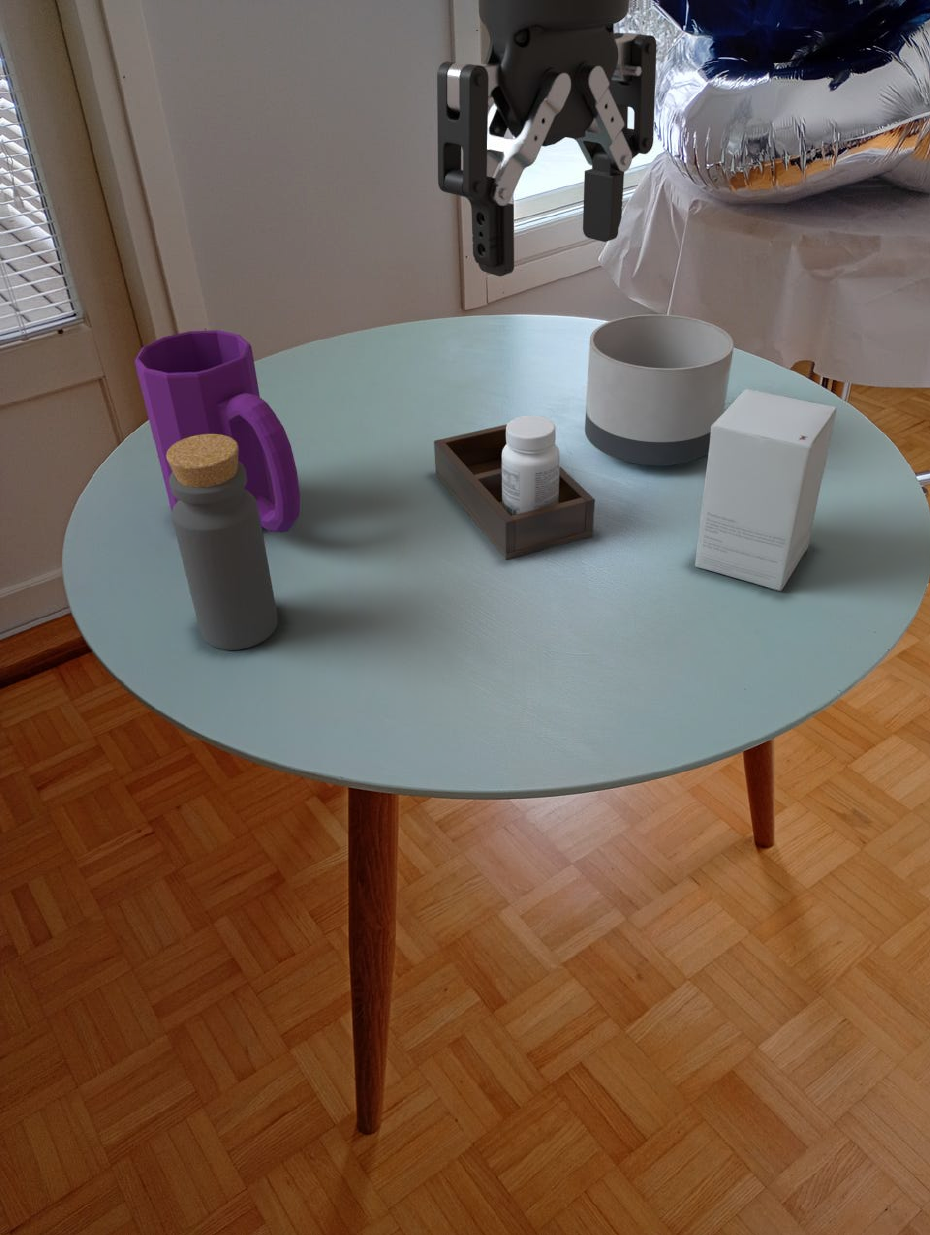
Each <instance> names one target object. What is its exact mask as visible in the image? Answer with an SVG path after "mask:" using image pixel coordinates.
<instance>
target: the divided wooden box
mask: <svg viewBox="0 0 930 1235" xmlns="http://www.w3.org/2000/svg"><path fill="white" fill-rule="evenodd" d="M506 426H507V424H502V425H498V426H493V427H489V428H484V429H480V430H475V431H473V432H467V433H462V434H458V435H453V436H449V437H445V438H440V439H435V440H433V451H434V452H433V453H434V466H435V467H434V469H435V476H436V478H437V479H438V480H439V481H440V483H442V485H443V486H444V487H445V488H446V490H447V491H448V492H449V493H450V494H451V495H452V496H453V498H454V499H455V500H456V502H458V504H459V505H460V507H461V508H462V509H463V510H464V511H465V512H466V513H467V515H468V516H469V517H470V518H471V519H472V521H473V522H474V523H475V524H476V525H477V527H478V528H479V529H480V530H481V532H482V533H483V534H484V535H485V536H486V537H487V539H488V540H489V541H490V543H491V544H492V545H493V546H494V547H495V548H496V549H497V550H498V552H499V553H500V555H502V557H503V558H504V559H505V560H510V559H513V558H517V557H520V556H524V555H528V554H531V553H535V552H538V551H542V550H547V549H550V548H553V547H557V546H560V545H564V544H569V543H572V542H575V541H578V540H582V539H586V538H591V537H593V536H594V535H593V534H594V518H595V502H596V500H595V498H594V497H593V496H592V495H591V494H590V493H589V492H588V491H587V490H585V488H583V487H582V486H581V484H579V483H578V482H577V481H576V480H575V479H574V477H572V476H571V475H570V474H569V473H568V472H566V471H565V470H564V469H563V467H561V466H560V465H559V499H558V504H555V505H551V506H547V507H543V508H539V509H535V510H531V511H527V512H524V513H520V514H516V515H512V516H510V515H509V513H508V512H507V511H506V510H505V509H504V508H503V507H502V451H503V448H504V447H505V445H506V444H507V443H506Z"/></svg>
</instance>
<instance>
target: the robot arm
mask: <svg viewBox="0 0 930 1235" xmlns="http://www.w3.org/2000/svg"><path fill="white" fill-rule="evenodd" d="M629 9H630V0H478V16H479V20H480V22H482V23H483V25H484V26H485V28H486V30H487V33H488V37H489V45H488V50H487V55H486V58H485V61H484V63H479V64H471V63H463V62H455V61H447V60H446V61H443V62H442V63H440V65H439V67H438V69H437V73H436V103H437V104H436V107H437V108H436V109H437V110H436V111H437V114H436V115H437V116H436V117H437V118H436V119H437V120H436V121H437V124H436V125H437V184H438V188H439V190H440V191H441V192H443V193H446V194H451V195H456V196H459V197H463V198H466V199H467V200H468V202H469V204H470V209H471V212H470V213H471V235H472V236H471V238H472V240H471V241H472V255H473V258H474V261H475V263H476V264H478V267H479V269H480V270H481V272H484V273H487V274H490V275H493V276H497V277H503V276H506V275H509V274H510V275H511V274H512V273H513V272H514V269H515V229H514V228H515V214H514V213H515V212H514V209H515V208H514V207H515V204H514V203H511V199H512V197H513V196H514V193H515V191H516V189H517V186H518V184H519V182H520V179H521V178H522V174H523V172H524V171H525V169H526V168H528V167H531V166H532V165H533V164H534V163H535V162H536V160H537V157H538V155H539V153H540V151H541V150H542V147H548V146H552V145H556V144H557V143H559V142H560V141H563V139H565V138H568V139H573V140H575V141H576V143H577V144H578V146H579V149H580V151H581V153H582V154H583V156H584V159H585V160H586V162H587V164H588V165H589V166H591V168H590V169H586V170H584V181H583V182H584V183H583V184H584V185H583V208H582V209H583V212H582V213H583V214H582V216H583V217H582V231H583V232H582V233H583V235H584V237H586V238H588V239H591V240H595V241H599V242H603V243H607V242H610V241H613V240H616V239H617V238H618V235H619V228H620V225H621V222H622V219H623V208H622V207H623V199H624V184H625V182H624V179H625V172H626V171H628V170H629V169H630V167H631V165H632V161H633V160H634V158H636V157H637V156H638V155H639V154H641V155H647V154H649V153H650V152H651V150H652V149H653V145H654V133H655V132H654V131H655V106H656V105H655V102H656V100H655V99H656V75H657V74H656V72H657V71H656V70H657V40H656V37H655V36H654V35H651V34H643V33H635V32H615V31H614V30H615V27H614V26H615V24H618V23H619V22H621V21H622V20H624V19H625V18H626V17H627V15H628V12H629ZM489 108H490V109H489ZM629 108H631V109H632V110H633V128H629V127H628V126H629V125H628V124H629V121H628V120H629ZM507 131H509V133H510V134H511V135H512V137H514V138H510V137H505V135H506V133H507ZM462 154H463V155H462ZM499 164H500V165H499ZM498 166H499V167H498ZM497 167H498V170H497ZM496 170H497V172H496ZM495 172H496V174H495ZM494 174H495V177H494Z"/></svg>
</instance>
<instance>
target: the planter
mask: <svg viewBox="0 0 930 1235" xmlns="http://www.w3.org/2000/svg"><path fill="white" fill-rule="evenodd" d="M734 348H735V343H734V340H733V337H732V336H731V335H730V334H729V332H727V331H726V330H724V329H723V328H721V327H720V326H717V325H715V324H713V323H711V322H708V321H705V320H702V319H698V318H695V317H689V316H683V315H676V314H675V315H674V314H663V313H661V314H660V313H659V314H658V313H657V314H653V313H652V314H636V315H628V316H624V317H619V318H616V319H612V320H610V321H606V322H605V323H602V324H601V325H599V326H597V327H596V328H594V330H593V331H592V332H591V334H590V336H589V347H588V362H587V363H588V364H587V380H586V381H587V382H586V383H587V385H586V401H585V402H586V403H585V419H584V420H585V421H584V433H585V437H586V439H587V440H588V442H589V443H590V445H592V446H593V447H595V448H596V449H597V450H598V451H600V452H601V453H604V454H605V455H607V456H610V457H612V458H614V459H617V460H620V461H623V462H628V463H633V464H636V465H637V464H639V465H646V466H670V465H677V464H678V465H679V464H684V463H687V462H691V461H694V460H697V459H701V458H703V457H705V456H707V455H709V447H710V436H711V426H712V425H713V424H714V423H715V421H716V420H717V419H718V418H719V417H720V416H721V415H722V414H723V413H724V412H725V411H726V402H727V397H728V396H727V395H728V390H729V382H730V375H731V370H732V362H733V356H734Z"/></svg>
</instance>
